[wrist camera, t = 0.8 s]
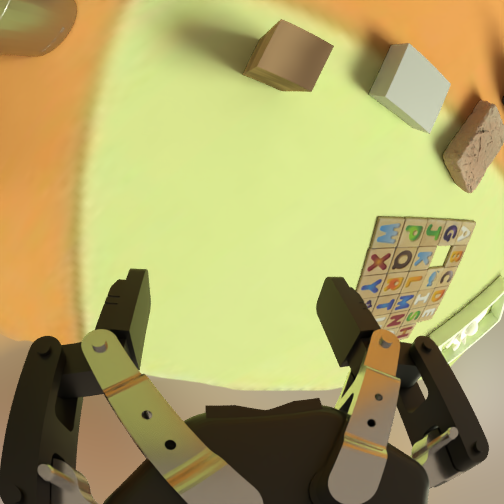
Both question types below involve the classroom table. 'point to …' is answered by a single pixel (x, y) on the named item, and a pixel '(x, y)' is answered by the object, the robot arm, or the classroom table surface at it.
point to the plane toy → (465, 333)
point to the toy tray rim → (497, 294)
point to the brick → (475, 146)
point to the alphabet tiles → (410, 269)
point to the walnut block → (288, 58)
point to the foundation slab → (410, 87)
